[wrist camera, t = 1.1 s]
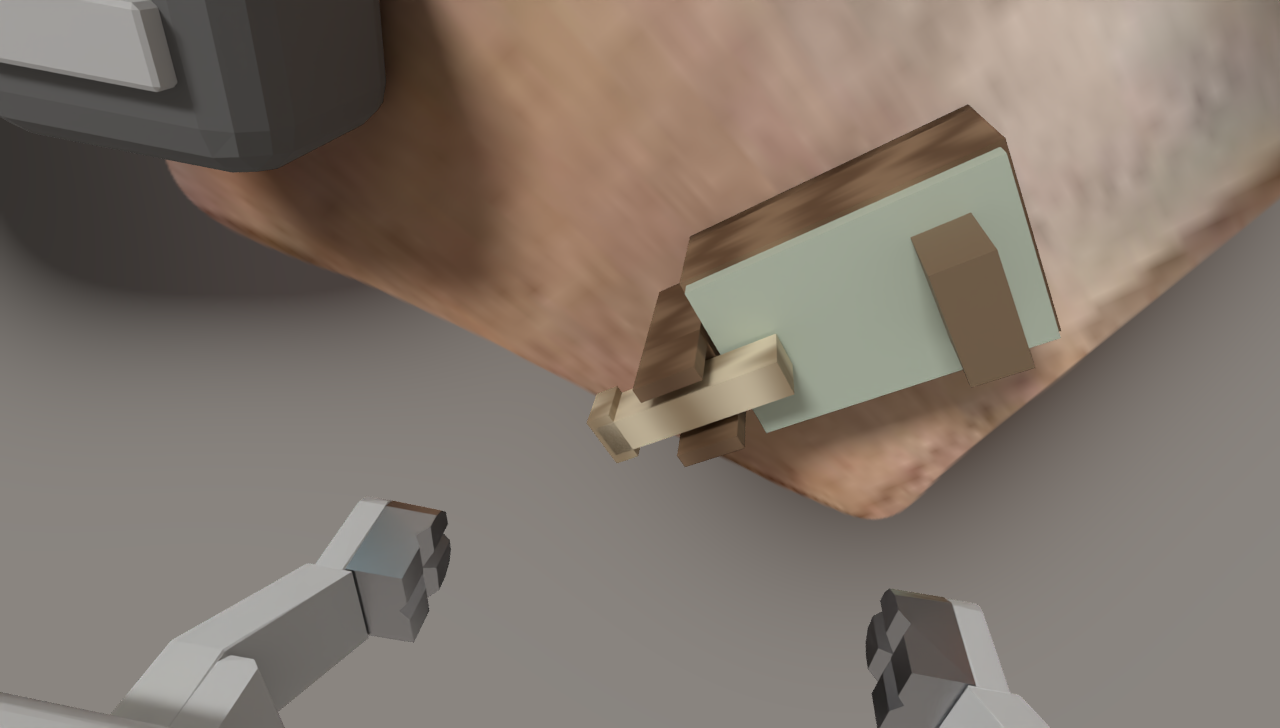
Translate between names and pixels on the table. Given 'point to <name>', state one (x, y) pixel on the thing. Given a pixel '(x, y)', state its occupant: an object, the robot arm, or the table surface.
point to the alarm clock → (193, 75)
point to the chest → (840, 191)
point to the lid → (892, 294)
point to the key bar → (694, 399)
